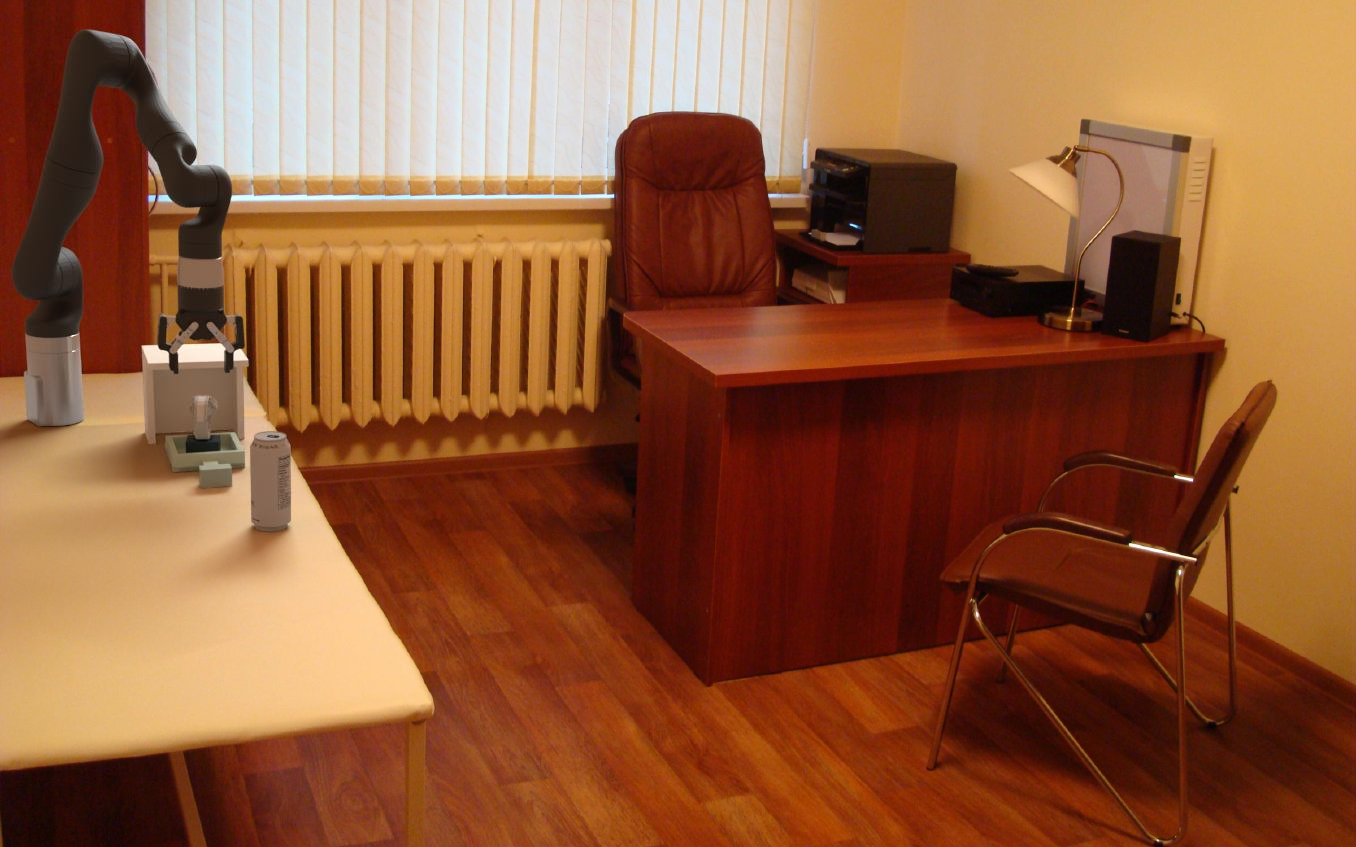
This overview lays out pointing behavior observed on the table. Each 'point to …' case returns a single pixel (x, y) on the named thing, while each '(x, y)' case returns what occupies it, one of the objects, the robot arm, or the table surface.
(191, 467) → the tray
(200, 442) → the watch
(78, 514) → the table surface
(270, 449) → the energy drink can
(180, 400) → the white side table
